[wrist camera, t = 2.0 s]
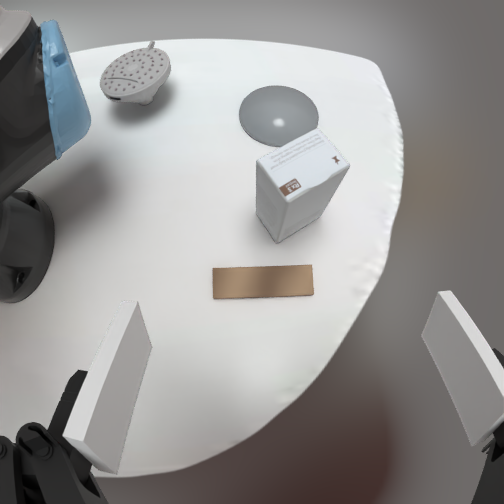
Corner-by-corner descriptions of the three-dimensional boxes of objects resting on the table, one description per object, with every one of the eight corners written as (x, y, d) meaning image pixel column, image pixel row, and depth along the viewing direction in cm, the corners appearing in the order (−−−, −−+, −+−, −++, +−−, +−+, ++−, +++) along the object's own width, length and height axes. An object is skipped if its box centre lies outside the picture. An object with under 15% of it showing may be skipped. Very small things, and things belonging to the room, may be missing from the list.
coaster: (240, 147, 36) (239, 145, 35) (239, 89, 38) (238, 86, 37) (322, 147, 36) (323, 144, 35) (312, 89, 38) (312, 86, 37)
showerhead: (183, 42, 32) (141, 95, 29) (191, 79, 39) (157, 131, 36) (126, 38, 33) (83, 87, 30) (139, 71, 40) (103, 119, 37)
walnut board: (214, 298, 31) (213, 297, 31) (213, 269, 32) (212, 268, 31) (312, 295, 31) (313, 294, 31) (310, 266, 32) (311, 264, 31)
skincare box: (298, 187, 34) (318, 121, 23) (322, 218, 33) (354, 163, 22) (252, 214, 33) (252, 154, 22) (276, 248, 33) (288, 202, 21)
